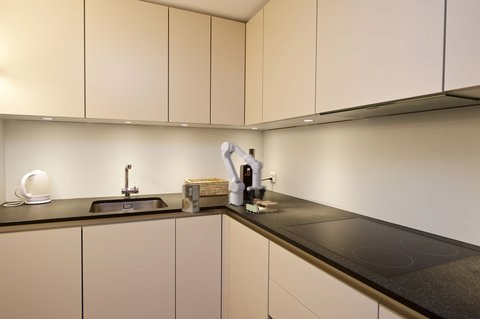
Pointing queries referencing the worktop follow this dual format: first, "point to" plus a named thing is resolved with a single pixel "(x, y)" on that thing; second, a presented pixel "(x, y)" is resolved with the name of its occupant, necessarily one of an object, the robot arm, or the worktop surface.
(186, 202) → the coffee box
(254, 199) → the coaster
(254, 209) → the tray
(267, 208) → the housing
